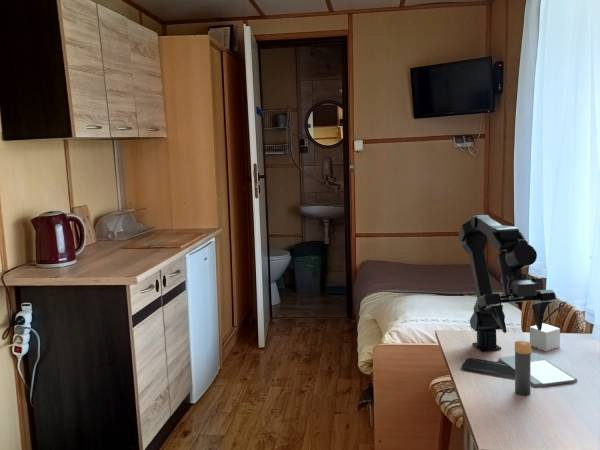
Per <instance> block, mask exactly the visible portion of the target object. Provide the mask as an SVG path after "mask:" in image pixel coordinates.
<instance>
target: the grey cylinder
mask: <svg viewBox="0 0 600 450" xmlns="http://www.w3.org/2000/svg"><path fill="white" fill-rule="evenodd" d="M531 354H532V346H531V343H530V341H525V340H518V341H515V342H514V356H515V379H514V393H515V394H516V395H517V396H521V397H522V396H523V397H528V396H530V395H531V384H530V371H531Z"/></svg>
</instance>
